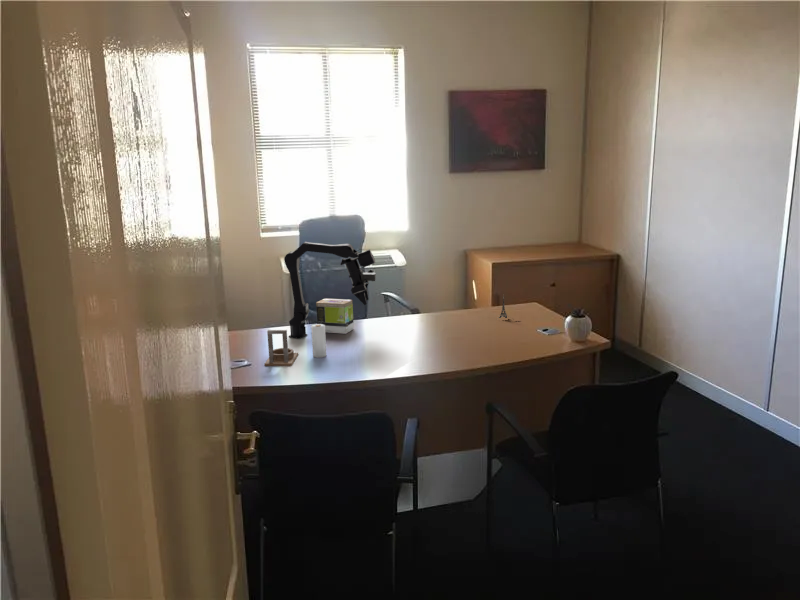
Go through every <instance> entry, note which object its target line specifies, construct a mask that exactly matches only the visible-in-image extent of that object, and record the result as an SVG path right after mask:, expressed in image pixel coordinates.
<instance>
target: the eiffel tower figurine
mask: <svg viewBox="0 0 800 600" xmlns="http://www.w3.org/2000/svg"><path fill="white" fill-rule="evenodd" d="M499 316H500V317H499V318H501V317H505V318H507V316H508V314H507V312H506V309H505V295H503V296H502V307H501V313H500V314H499Z"/></svg>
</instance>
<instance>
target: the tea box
mask: <svg viewBox="0 0 800 600" xmlns="http://www.w3.org/2000/svg"><path fill="white" fill-rule="evenodd" d="M353 305H354V304H353V299H345V298H323V299H321V300H319V301H316V302H315V306H316V307H315V309H316V311H315V312H316V324H323V325H325V333H330V334H331V333H334V334H344V335H346V334H348V333H350V332H351V331H352V330H354V311H353V310H354V309H353V308H354V306H353Z"/></svg>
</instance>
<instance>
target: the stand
mask: <svg viewBox="0 0 800 600" xmlns="http://www.w3.org/2000/svg"><path fill="white" fill-rule="evenodd" d="M266 333H267V343H268V344H267V347H268V358H267V360H266V361H265V362H264V367H286V366H287V367H289V366H290V367H292V366H293V365H294V362H295V361H297V358H298V356H299V352H294V350H293V348H290V347H289V346H288V330H287V329H268V330H267V331H266ZM273 335H282V347H281V348H274V342H273Z"/></svg>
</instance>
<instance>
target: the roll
mask: <svg viewBox="0 0 800 600" xmlns="http://www.w3.org/2000/svg"><path fill="white" fill-rule="evenodd" d="M310 327H311V342H312V343H311V345H312V357H313V358H316V359H322V358H326V356H327V342H326V340H327V339H326V332H325V325H323V324H317V323H316V324H312V325H310Z"/></svg>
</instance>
